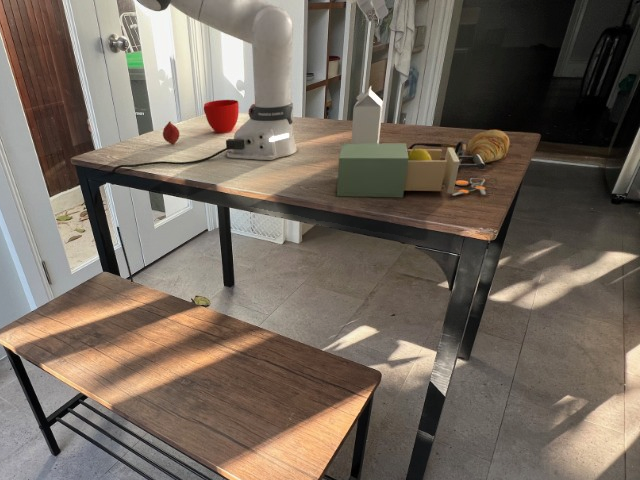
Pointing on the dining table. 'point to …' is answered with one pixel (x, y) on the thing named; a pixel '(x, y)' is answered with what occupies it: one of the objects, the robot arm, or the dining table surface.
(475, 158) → the drawer
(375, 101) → the milk carton
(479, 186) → the key chain
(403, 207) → the dining table surface
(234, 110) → the ceramic cup
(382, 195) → the cabinet
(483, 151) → the croissant
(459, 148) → the sunglasses
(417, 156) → the lemon
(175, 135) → the onion
